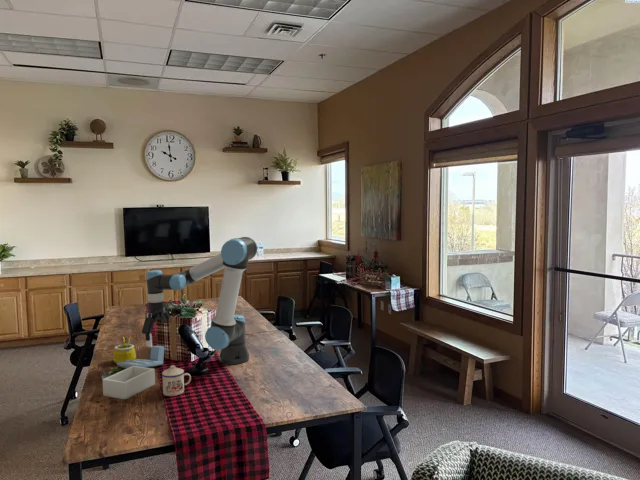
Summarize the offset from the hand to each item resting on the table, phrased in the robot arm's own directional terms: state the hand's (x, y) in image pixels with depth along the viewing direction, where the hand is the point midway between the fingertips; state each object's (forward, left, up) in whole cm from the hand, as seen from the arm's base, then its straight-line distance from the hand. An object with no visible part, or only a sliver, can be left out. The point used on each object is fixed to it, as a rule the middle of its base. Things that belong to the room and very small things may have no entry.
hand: (158, 342), depth 246 cm
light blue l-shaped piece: (+1, +10, -9) cm, 13 cm away
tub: (-11, +33, -10) cm, 36 cm away
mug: (+19, +3, -11) cm, 22 cm away
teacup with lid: (-32, +28, -11) cm, 44 cm away
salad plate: (+3, +21, -11) cm, 24 cm away
